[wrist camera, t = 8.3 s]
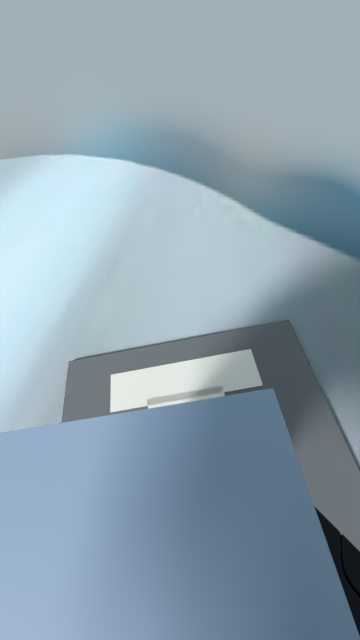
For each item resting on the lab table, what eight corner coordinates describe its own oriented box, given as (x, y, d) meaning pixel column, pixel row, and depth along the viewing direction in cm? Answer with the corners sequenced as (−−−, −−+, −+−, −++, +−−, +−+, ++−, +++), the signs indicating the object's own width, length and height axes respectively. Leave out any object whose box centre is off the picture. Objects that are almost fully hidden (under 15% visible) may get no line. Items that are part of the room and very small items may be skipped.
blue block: (227, 430, 15) (273, 387, 3) (249, 530, 12) (722, 1680, 1) (155, 442, 15) (-24, 436, 4) (161, 542, 12) (-370, 1547, 1)
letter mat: (287, 322, 19) (289, 319, 19) (472, 724, 9) (486, 739, 9) (71, 362, 20) (68, 360, 19) (24, 777, 10) (15, 792, 9)
